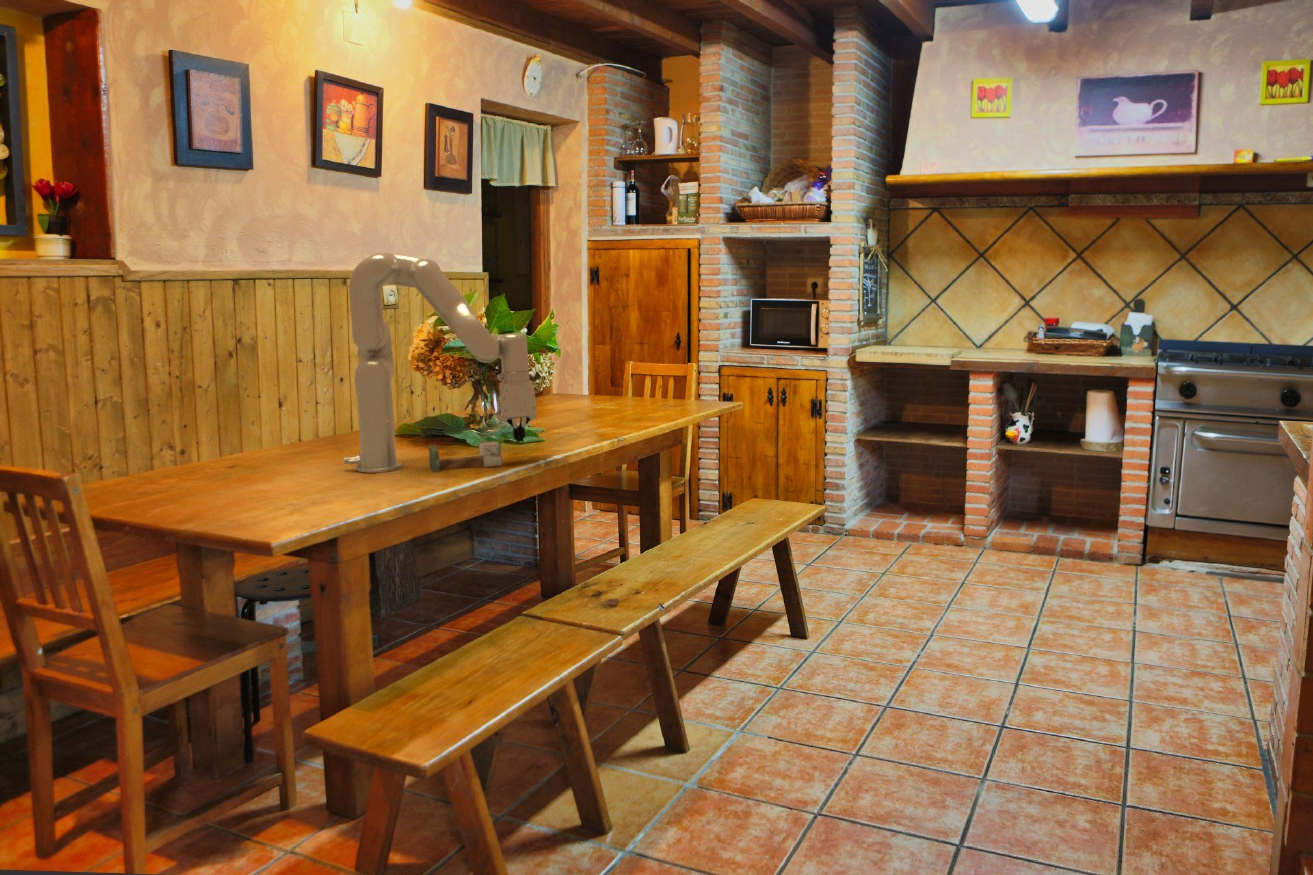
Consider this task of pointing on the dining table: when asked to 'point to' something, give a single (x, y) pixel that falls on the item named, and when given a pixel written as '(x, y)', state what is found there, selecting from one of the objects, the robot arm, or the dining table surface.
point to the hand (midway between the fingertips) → (519, 440)
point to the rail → (452, 461)
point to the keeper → (490, 453)
